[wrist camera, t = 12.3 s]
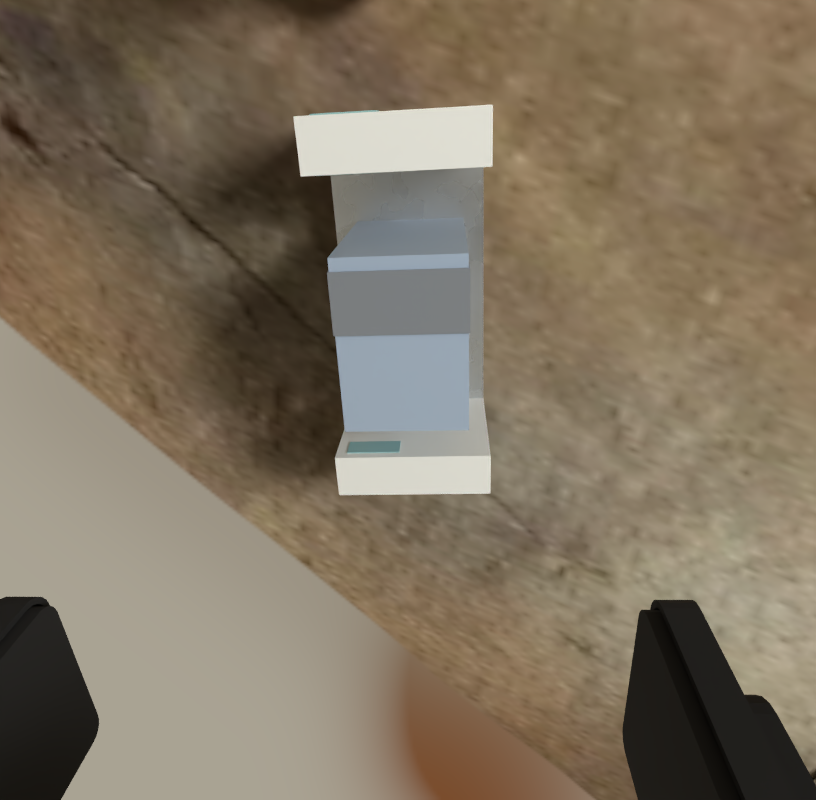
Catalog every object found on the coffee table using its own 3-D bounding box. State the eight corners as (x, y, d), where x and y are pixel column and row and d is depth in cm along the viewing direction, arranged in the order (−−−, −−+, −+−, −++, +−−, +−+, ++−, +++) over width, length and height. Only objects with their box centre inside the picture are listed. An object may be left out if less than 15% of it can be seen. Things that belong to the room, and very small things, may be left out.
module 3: (483, 431, 33) (490, 494, 28) (356, 434, 34) (339, 495, 28) (483, 397, 32) (490, 454, 27) (353, 400, 33) (334, 457, 27)
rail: (481, 418, 34) (483, 431, 33) (360, 421, 35) (356, 433, 34) (481, 107, 28) (483, 106, 26) (330, 116, 28) (324, 115, 27)
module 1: (483, 157, 27) (492, 168, 22) (329, 165, 28) (300, 177, 22) (483, 105, 26) (492, 102, 21) (324, 114, 27) (293, 115, 21)
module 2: (465, 357, 31) (470, 431, 24) (367, 359, 32) (343, 433, 24) (464, 217, 28) (470, 253, 21) (356, 221, 29) (325, 258, 21)
